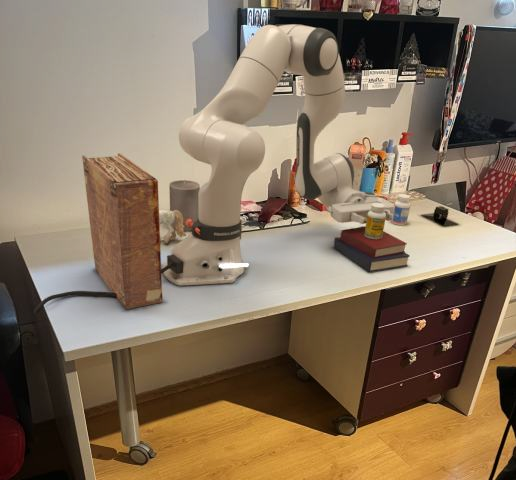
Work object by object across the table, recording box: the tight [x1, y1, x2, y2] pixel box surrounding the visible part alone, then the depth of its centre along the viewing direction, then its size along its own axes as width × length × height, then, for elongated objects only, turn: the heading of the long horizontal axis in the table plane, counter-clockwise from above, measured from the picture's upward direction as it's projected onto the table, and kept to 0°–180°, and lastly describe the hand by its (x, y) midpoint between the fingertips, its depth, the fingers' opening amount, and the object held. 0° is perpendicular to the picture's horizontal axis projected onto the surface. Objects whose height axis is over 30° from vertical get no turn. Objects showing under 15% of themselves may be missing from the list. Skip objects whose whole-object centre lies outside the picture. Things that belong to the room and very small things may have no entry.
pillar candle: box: [168, 179, 201, 232], centre depth 172 cm, size 10×10×15 cm
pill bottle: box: [391, 193, 411, 226], centre depth 188 cm, size 6×5×10 cm
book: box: [81, 152, 163, 310], centre depth 129 cm, size 25×9×30 cm, turn 31°
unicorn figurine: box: [159, 209, 187, 245], centre depth 159 cm, size 7×20×13 cm, turn 117°
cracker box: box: [347, 144, 367, 191], centre depth 200 cm, size 14×6×21 cm, turn 168°
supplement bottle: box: [364, 203, 386, 240], centre depth 157 cm, size 5×5×10 cm
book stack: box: [333, 225, 411, 273], centre depth 161 cm, size 14×19×6 cm
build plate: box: [420, 205, 459, 228], centre depth 195 cm, size 12×7×5 cm, turn 26°
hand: (378, 219), depth 155 cm, fingers open, 8 cm apart
